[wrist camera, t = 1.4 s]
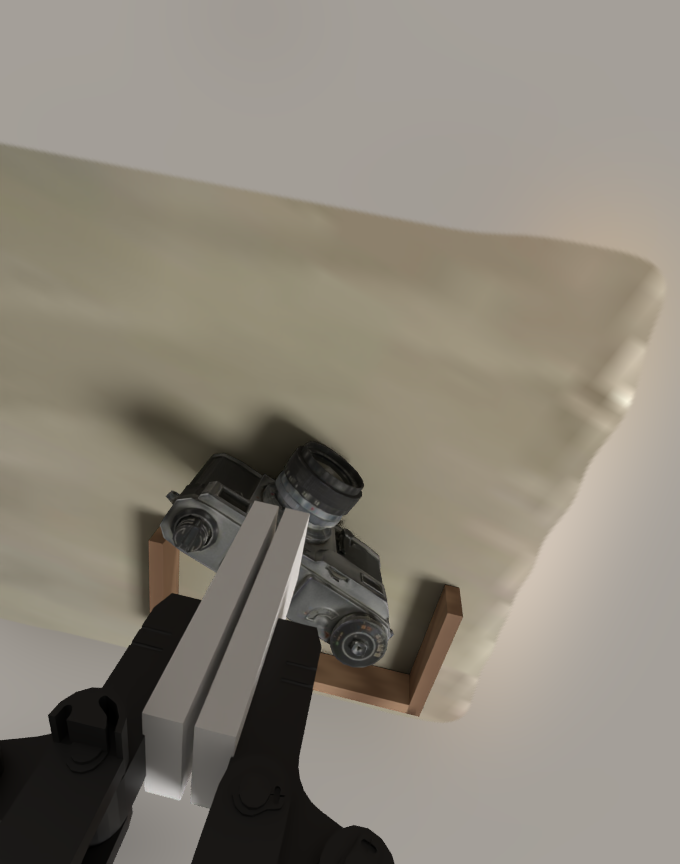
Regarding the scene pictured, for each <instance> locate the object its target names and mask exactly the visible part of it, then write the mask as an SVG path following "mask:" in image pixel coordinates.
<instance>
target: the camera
mask: <svg viewBox="0 0 680 864" xmlns="http://www.w3.org/2000/svg"><path fill="white" fill-rule="evenodd" d="M363 487H364V483H363V480H362V478H361V477H360V475H359V474H358V472H357V471H356V470H355V469H354V468H353V467H352V466H351V465H350V464H349V463H348V462H347V461H346V460H345V459H343V458H342V457H341V456H340V455H338V454H337V453H336V452H334V451H333V450H331V449H329V448H327V447H326V446H324V445H322V444H319V443H317V442H312V441H310V442H308V443H306V445H305V446H300V447H298V448H297V449H296V451H295V452H294V453H293V455H292V456H291V457H290V459H289V461H288V462H287V464H286V465H285V466H284V470H283V471H282V472H281V473H280V474H279V476H278V477H277V479H276V481H275V480H274V479H272V478H270V477H269V476H267V475H266V474H264V475H263V476H262V475H260V474H259V473H258V472H256V471H255V470H253V469H252V468H250V467H249V466H247V465H246V464H244V463H243V462H241V461H239V460H237V459H235V458H233V457H231V456H229V455H227V454H225V453H222V454H214V455H213V456H212V457H211V458H210V459H209V460H208V462H207V463H206V464H205V465H204V467H203V468H202V469H201V470H200V471H199V473H198V474H197V475H196V476H195V478H194V479H193V480H192V482H191V483H190V484H189V485H187V486H186V488H185V489H184V490H183V492H182V493H181V494H178V493H177V492H175V491H171V492H170V493H169V494H168V495H167V496H166V497H167V498H168V499H169V500H170V502H171V503H172V504H173V506H172V507H171V508H170V510H169V511H168V513H167V514H166V515H165V517H164V519H163V520H162V522H161V524H160V527H161V530H162V534H163V537H164V538H165V539H166V540H167V541H168V542H170V543H171V544H172V545H173V546H175V547H176V548H177V549H178V550H180V551H182V552H183V553H185V554H187V555H188V556H190V557H191V558H193V559H195V560H196V561H198V562H200V563H201V564H203V565H205V566H206V567H208V568H209V569H211V570H213V571H214V572H216V573H217V571H218V569H219V567H220V565H221V563H222V561H223V559H224V558H225V556H226V554H227V552H228V550H229V548H230V546H231V544H232V543H233V541H234V539H235V537H236V535H237V533H238V531H239V529H240V528H241V526H242V524H243V522H244V520H245V518H246V516H247V514H248V512H249V511H250V509H251V507H252V505H253V503H254V501H259V502H263V503H267V504H271V505H276V506H279V509H278V516H277V523H276V529H275V532H276V530H277V528H278V525H279V523H280V520H281V518H282V516H283V513H284V511H285V508H288V509H293V510H297V511H301V512H305V513H309V514H310V516H309V521H308V527H307V532H306V537H305V543H304V548H303V553H302V559H301V564H300V569H299V575H298V579H297V583H296V586H295V589H294V592H293V596H292V599H291V602H290V606H289V609H288V612H287V615H286V617H287V618H288V619H289V620H291V621H293V622H296V623H300V624H304V625H309V626H313V627H317V630H318V635H319V638H320V639H322V640H324V641H325V642H327V643H328V644H330V647H331V650H332V653H333V655H334V656H335V658H336V659H337V660H339V661H340V662H341V663H343V664H345V665H347V666H350V667H367V666H370V665H373V664H375V663H376V662H377V661H378V660H380V659H381V658H382V657H383V656H384V654H385V652H386V650H387V644H388V643H387V642H388V640H389V639H390V638H391V637H392V636H393V635H394V634H393V631H392V630H391V629H390V626H389V618H388V617H389V611H388V603H387V598H386V593H385V588H384V585H383V584H382V578H381V573H380V559H379V555H377V554H376V553H375V552H374V551H373V550H372V549H370V548H369V547H368V546H367V545H366V544H364V543H363V542H361V541H360V540H358V539H357V538H355V537H354V535H353V534H352V532H351V531H349V530H348V529H344V528H343V529H342V528H340V527H339V526H337V525H336V524H337V523H338V522H339V521H340V520H341V517H342V516H343V515H346V514H347V513H348V512H349V511H350V510H351V509H352V507H353V506H354V505H355V504H356V503H357V502H358V500H359V499H360V498H361V496H362V491H361V490H362V488H363Z"/></svg>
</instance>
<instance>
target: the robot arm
mask: <svg viewBox="0 0 680 864" xmlns="http://www.w3.org/2000/svg"><path fill="white" fill-rule="evenodd" d="M278 509H279V506H276V505H271V504H267V503H263V502H259V501H254V503H253V505H252V507H251V509H250V511H249V512H248V514H247V516H246V518H245V520H244V522H243V524H242V526H241V528H240V529H239V531H238V533H237V535H236V537H235V539H234V541H233V543H232V544H231V546H230V548H229V550H228V552H227V554H226V556H225V558H224V559H223V561H222V563H221V565H220V567H219V569H218V571H217V573H216V575H215V576H214V578H213V580H212V582H211V584H210V586H209V588H208V590H207V591H206V593H205V595H204V597H203V599H202V600H199V599H195V598H191V597H187V596H183V595H179V594H175V593H171V594H170V595H169V596H168V597H166V598H165V599H164V600H162V601H161V602H160V603H159V604H157V605H156V606H155V607H154V608H153V609H152V611H151V613H150V614H149V616H148V617H147V619H146V620H145V622H144V623H143V625H142V628H141V629H140V630H139V631H138V633H137V634H136V636H135V637H134V639H133V641H132V644H131V645H129V647H128V648H127V650H126V651H125V653H124V655H123V656H122V658H121V659H120V661H119V662H118V664H117V666H116V667H115V669H114V670H113V672H112V673H111V675H110V676H109V678H108V680H107V681H106V683H105V684H104V686H103V687H102V688H89V689H85V690H82V691H78V692H75V693H74V694H72V695H71V696H69V697H68V698H66V699H64V700H63V701H61V702H60V703H59V704H58V705H57V706H56V707H55V708H54V709H53V711H52V712H51V713H50V714H49V715H48V717H49V722H50V727H51V732H52V733H51V734H48V735H43V736H38V737H28V738H19V739H9V740H0V864H113V862H114V859H115V857H116V855H117V853H118V850H119V848H120V846H121V843H122V841H123V839H124V837H125V835H126V832H127V830H128V828H129V824H130V820H131V817H132V805H133V803H134V801H135V798H136V796H137V794H138V792H139V790H140V787H141V786H142V783H143V781H144V785H145V791H146V792H150V793H153V794H157V795H161V796H165V797H169V798H172V799H176V800H181V797H182V795H183V792H184V789H185V787H186V784H187V782H188V779H189V777H190V774H191V772H192V782H191V800H190V803H191V804H194V805H198V806H202V807H206V808H210V811H209V814H208V817H207V819H206V822H205V825H204V828H203V831H202V834H201V837H200V840H199V842H198V845H197V848H196V851H195V854H194V857H193V860H192V863H191V864H394V860H393V857H392V854H391V853H390V851H389V850H388V848H387V846H386V845H385V843H384V842H383V840H382V839H381V838H380V837H379V836H377V835H376V834H375V833H373V832H372V831H371V830H369V829H368V828H364V827H360V826H355V825H353V826H349V827H346V828H343V827H341V826H340V825H339V824H337V823H336V822H335V821H333V820H332V819H331V818H329V817H328V816H327V815H326V814H324V813H323V812H322V811H320V810H319V809H318V808H317V807H316V806H315V805H314V804H313V803H312V802H311V801H310V799H309V798H308V796H307V795H306V793H305V792H304V790H303V786H302V784H301V781H300V776H299V768H298V765H299V755H300V749H301V745H302V740H303V735H304V730H305V725H306V720H307V715H308V711H309V706H310V700H311V695H312V691H313V686H314V681H315V676H316V671H317V667H318V662H319V657H320V652H321V643H320V639H319V635H318V630H317V627H313V626H309V625H304V624H300V623H296V622H292V621H288V620H285V619H286V615H287V612H288V609H289V606H290V602H291V599H292V596H293V592H294V589H295V586H296V583H297V579H298V575H299V569H300V564H301V559H302V553H303V548H304V543H305V537H306V532H307V527H308V521H309V516H310V514H309V513H305V512H301V511H297V510H293V509H288V508H285V511H284V513H283V516H282V518H281V520H280V523H279V525H278V528H277V530H276V532H275V529H276V523H277V516H278Z"/></svg>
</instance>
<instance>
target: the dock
mask: <svg viewBox="0 0 680 864" xmlns="http://www.w3.org/2000/svg"><path fill="white" fill-rule="evenodd" d="M178 587H179V550H178V549H177V548H176V547H175V546H173V545H172V544H171V543H170V542H168V541H167V540H166V539H165V538H164V537H163V534H162V530H161V527H159V528H158V529H157V530H156V532H155V533H154V534H153V535H152V537H151V538H150V539H149V591H150V613H151V611H152V609H153V608H154V607H155V606H156V605H157V604H159V603H160V602H161V601H162V600H164V599H165V598H166V597H168V596H169V595H170V594H171V593H175V594H178ZM462 618H463V613H462V605H461V597H460V589H459V588H457V587H453V586H449V585H445V586H444V589H443V591H442V594H441V596H440V599H439V601H438V604H437V606H436V609H435V611H434V614H433V617H432V619H431V622H430V624H429V627H428V629H427V632H426V634H425V637H424V639H423V642H422V644H421V647H420V649H419V652H418V654H417V657H416V659H415V662H414V664H413V667H412V670H411V672H410V675H408V674H404V673H400V672H396V671H392V670H388V669H384V668H380V667H376V666H372V665H370V666H367V667H350V666H347V665H345V664H343V663H341V662H340V661H339V660H337V659H336V658H335V656H332V655H328V654H324V653H320V657H319V662H318V667H317V671H316V676H315V681H314V686H313V690H316V691H320V692H324V693H328V694H332V695H336V696H340V697H343V698H347V699H351V700H355V701H359V702H363V703H367V704H371V705H375V706H379V707H383V708H387V709H391V710H395V711H399V712H403V713H407V714H411V715H415V716H418V717H419V715H420V713H421V711H422V709H423V706H424V704H425V702H426V699H427V697H428V695H429V693H430V690H431V688H432V686H433V684H434V681H435V679H436V677H437V675H438V672H439V670H440V668H441V665H442V663H443V661H444V659H445V656H446V654H447V652H448V650H449V647H450V645H451V643H452V641H453V638H454V636H455V634H456V631H457V629H458V627H459V625H460V622H461V620H462Z"/></svg>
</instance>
